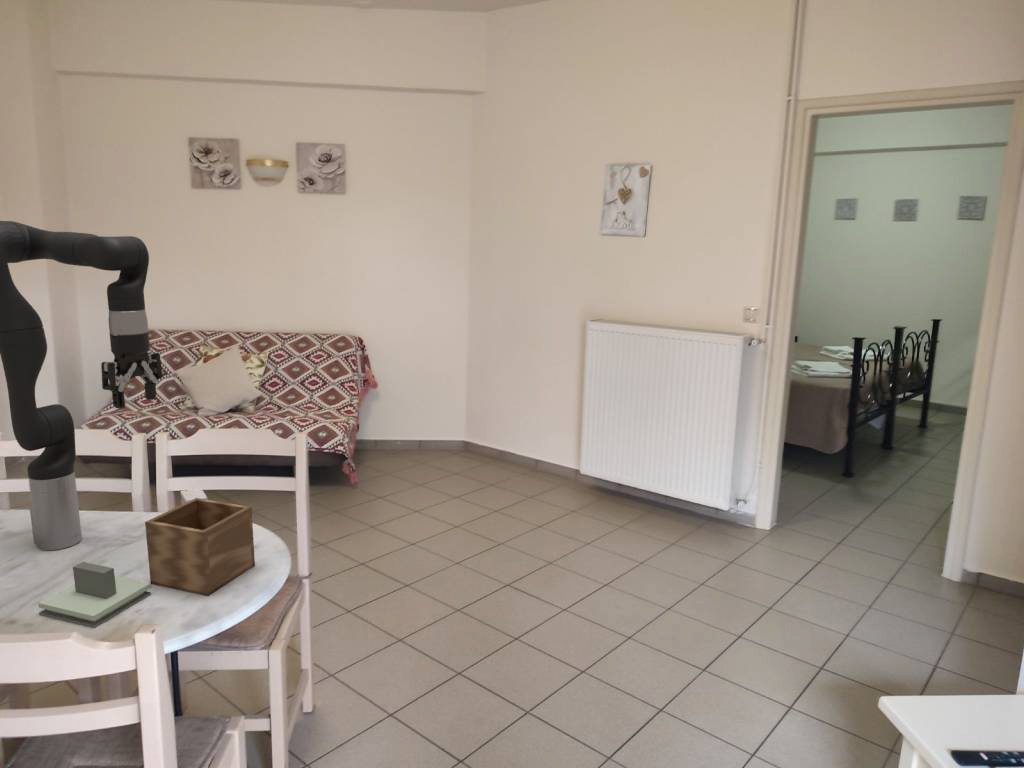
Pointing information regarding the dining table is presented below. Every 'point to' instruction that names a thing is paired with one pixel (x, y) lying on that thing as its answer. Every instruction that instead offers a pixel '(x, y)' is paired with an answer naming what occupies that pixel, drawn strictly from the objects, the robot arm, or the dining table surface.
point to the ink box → (192, 495)
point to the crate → (200, 545)
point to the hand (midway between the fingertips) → (135, 403)
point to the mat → (91, 623)
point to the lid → (94, 593)
